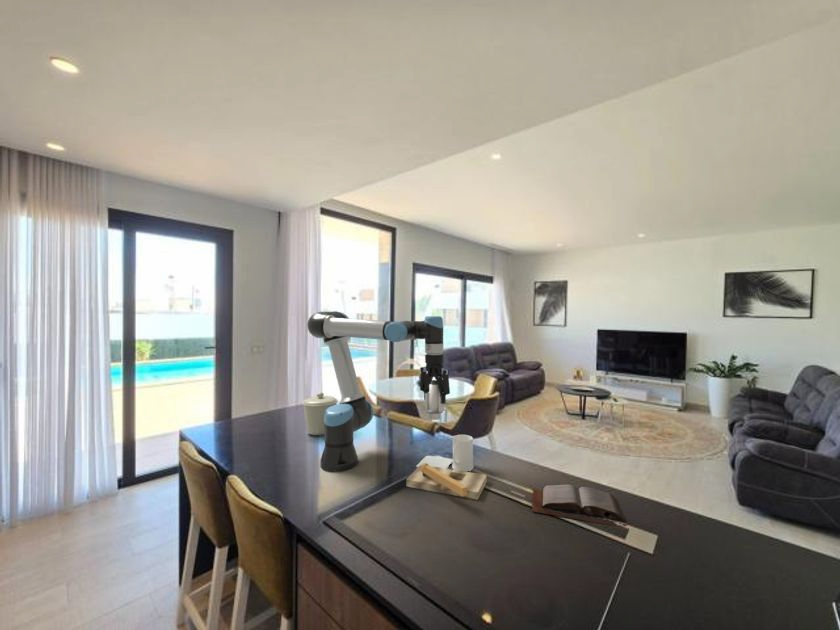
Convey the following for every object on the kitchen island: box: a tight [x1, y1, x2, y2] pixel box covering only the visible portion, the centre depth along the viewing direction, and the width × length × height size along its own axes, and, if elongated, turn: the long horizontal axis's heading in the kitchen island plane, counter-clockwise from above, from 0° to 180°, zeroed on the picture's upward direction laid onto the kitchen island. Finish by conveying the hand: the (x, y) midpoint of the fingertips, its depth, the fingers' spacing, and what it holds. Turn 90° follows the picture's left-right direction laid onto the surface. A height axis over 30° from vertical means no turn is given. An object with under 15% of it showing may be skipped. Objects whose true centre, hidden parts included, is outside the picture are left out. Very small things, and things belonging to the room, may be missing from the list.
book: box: [531, 484, 629, 528], centre depth 119 cm, size 20×28×4 cm
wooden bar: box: [421, 463, 467, 498], centre depth 127 cm, size 23×3×3 cm, turn 35°
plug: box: [426, 379, 444, 421], centre depth 151 cm, size 7×7×16 cm
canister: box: [301, 391, 339, 436], centre depth 193 cm, size 18×18×21 cm
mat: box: [415, 455, 453, 469], centre depth 151 cm, size 12×12×1 cm
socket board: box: [405, 465, 488, 501], centre depth 134 cm, size 26×14×4 cm, turn 68°
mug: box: [451, 434, 475, 472], centre depth 147 cm, size 12×8×12 cm
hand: (434, 409), depth 151 cm, fingers closed on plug, 6 cm apart
